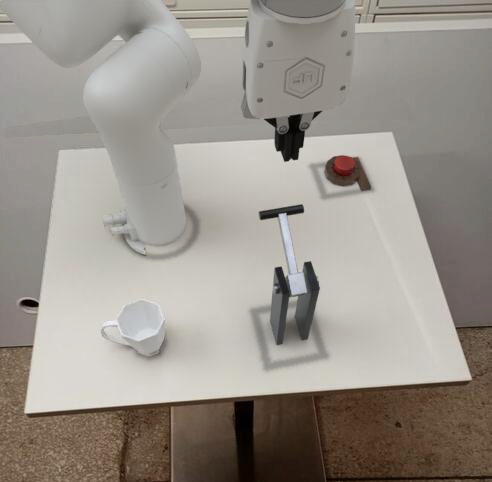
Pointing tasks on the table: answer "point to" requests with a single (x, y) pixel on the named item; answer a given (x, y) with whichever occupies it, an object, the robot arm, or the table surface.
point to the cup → (139, 326)
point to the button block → (357, 176)
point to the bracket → (304, 303)
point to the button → (344, 165)
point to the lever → (288, 247)
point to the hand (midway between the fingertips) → (288, 152)
